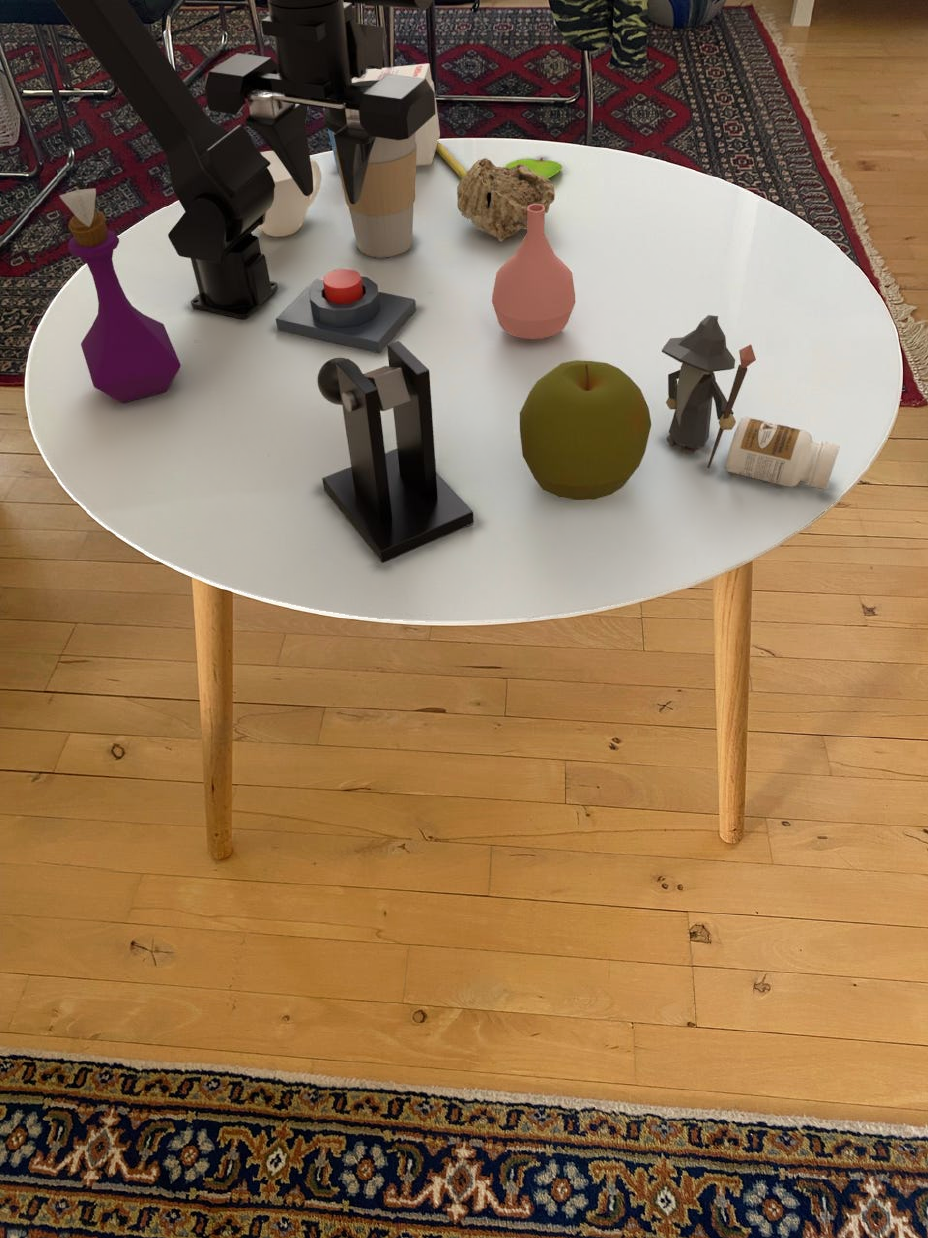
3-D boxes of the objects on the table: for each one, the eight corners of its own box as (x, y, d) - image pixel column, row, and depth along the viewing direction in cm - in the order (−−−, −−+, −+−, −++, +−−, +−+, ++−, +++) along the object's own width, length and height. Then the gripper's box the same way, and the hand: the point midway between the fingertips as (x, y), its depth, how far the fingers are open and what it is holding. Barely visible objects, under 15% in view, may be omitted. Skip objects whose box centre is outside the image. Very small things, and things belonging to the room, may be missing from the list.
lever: (319, 409, 79) (305, 365, 77) (359, 394, 80) (346, 350, 78) (377, 423, 68) (361, 372, 67) (422, 405, 69) (407, 355, 68)
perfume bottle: (91, 374, 91) (20, 178, 77) (172, 354, 93) (116, 159, 79) (105, 418, 86) (32, 219, 73) (189, 396, 88) (134, 198, 75)
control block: (277, 329, 95) (272, 301, 93) (318, 289, 100) (314, 261, 97) (379, 353, 92) (376, 324, 90) (416, 310, 97) (414, 281, 94)
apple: (551, 538, 74) (557, 419, 66) (497, 464, 80) (496, 346, 72) (665, 500, 77) (685, 381, 69) (605, 431, 83) (616, 314, 75)
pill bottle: (745, 404, 77) (846, 427, 75) (735, 447, 81) (831, 471, 79) (730, 438, 75) (834, 463, 73) (721, 481, 78) (820, 506, 76)
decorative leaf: (580, 175, 115) (580, 166, 114) (521, 198, 111) (521, 189, 111) (537, 156, 119) (537, 148, 118) (479, 177, 116) (479, 169, 115)
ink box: (337, 174, 117) (432, 166, 115) (319, 99, 111) (420, 89, 109) (350, 143, 123) (442, 135, 121) (334, 70, 117) (431, 60, 115)
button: (318, 301, 93) (315, 283, 92) (336, 282, 95) (334, 265, 94) (352, 308, 92) (350, 291, 91) (369, 289, 94) (367, 272, 93)
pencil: (427, 142, 121) (433, 146, 122) (469, 188, 113) (476, 193, 113) (432, 135, 121) (438, 139, 122) (475, 181, 112) (481, 185, 113)
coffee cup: (444, 236, 106) (437, 87, 95) (394, 275, 101) (380, 122, 90) (374, 216, 110) (359, 70, 99) (321, 252, 105) (300, 103, 94)
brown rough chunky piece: (483, 274, 106) (569, 232, 103) (454, 222, 101) (544, 176, 98) (471, 215, 113) (552, 174, 110) (444, 163, 107) (528, 119, 104)
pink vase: (537, 364, 90) (541, 238, 81) (475, 334, 93) (472, 210, 84) (590, 328, 93) (599, 204, 84) (528, 301, 97) (531, 179, 88)
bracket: (323, 489, 79) (299, 350, 70) (410, 454, 82) (398, 316, 72) (382, 563, 73) (364, 422, 64) (474, 523, 76) (469, 382, 66)
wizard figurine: (637, 442, 82) (653, 311, 73) (676, 411, 84) (697, 281, 75) (722, 485, 78) (750, 353, 69) (761, 452, 80) (793, 320, 71)
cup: (232, 229, 109) (219, 167, 104) (302, 197, 113) (293, 136, 108) (276, 252, 105) (264, 189, 100) (346, 218, 110) (339, 156, 105)
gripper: (459, -24, 77) (465, 175, 89) (256, -45, 83) (287, 146, 94) (396, 22, 71) (411, 231, 82) (180, -3, 76) (223, 196, 88)
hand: (331, 198), depth 87 cm, fingers open, 4 cm apart
